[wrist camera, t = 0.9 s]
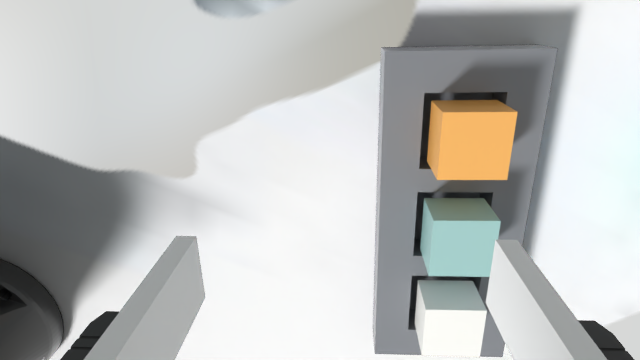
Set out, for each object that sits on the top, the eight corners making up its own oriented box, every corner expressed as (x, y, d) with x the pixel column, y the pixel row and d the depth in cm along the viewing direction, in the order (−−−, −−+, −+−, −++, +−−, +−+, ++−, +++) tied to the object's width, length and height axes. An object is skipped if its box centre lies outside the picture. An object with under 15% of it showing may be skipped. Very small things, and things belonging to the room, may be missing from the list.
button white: (414, 323, 39) (421, 355, 35) (417, 280, 37) (425, 309, 34) (467, 324, 39) (479, 357, 35) (472, 280, 37) (487, 310, 33)
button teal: (420, 248, 36) (428, 275, 32) (424, 197, 34) (433, 220, 31) (477, 249, 36) (492, 276, 32) (483, 198, 34) (500, 221, 30)
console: (372, 328, 44) (374, 353, 41) (381, 47, 33) (384, 51, 30) (490, 331, 43) (502, 357, 40) (536, 44, 33) (557, 48, 29)
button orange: (426, 161, 33) (437, 180, 30) (431, 100, 31) (442, 112, 28) (488, 160, 33) (507, 180, 29) (497, 99, 31) (517, 111, 27)
